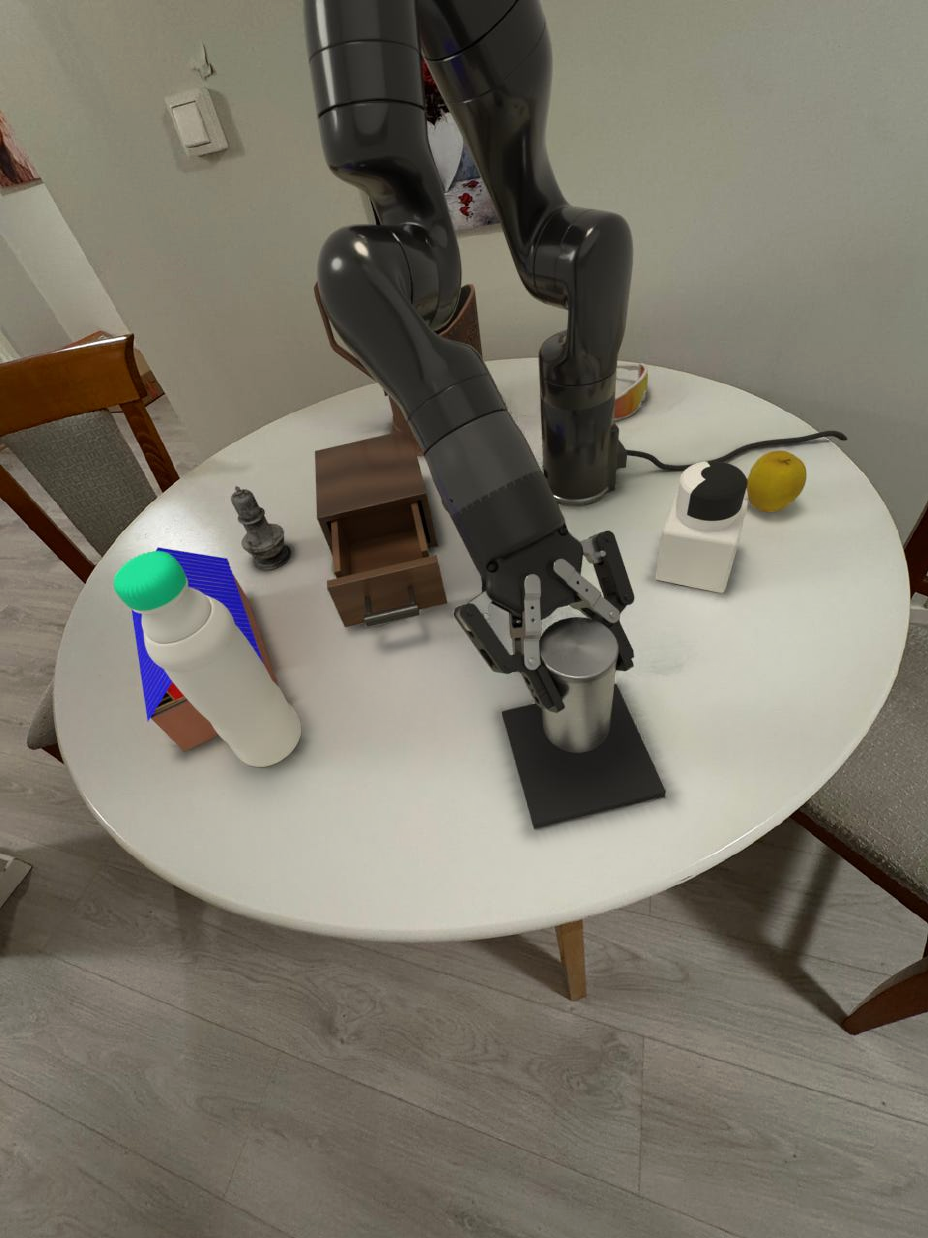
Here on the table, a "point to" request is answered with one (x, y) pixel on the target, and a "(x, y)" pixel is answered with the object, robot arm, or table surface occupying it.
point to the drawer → (383, 567)
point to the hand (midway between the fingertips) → (591, 688)
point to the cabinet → (370, 480)
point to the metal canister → (579, 681)
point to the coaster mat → (580, 767)
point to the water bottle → (209, 659)
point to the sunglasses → (631, 392)
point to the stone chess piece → (259, 532)
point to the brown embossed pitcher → (457, 329)
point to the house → (157, 686)
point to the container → (703, 527)
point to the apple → (775, 481)
